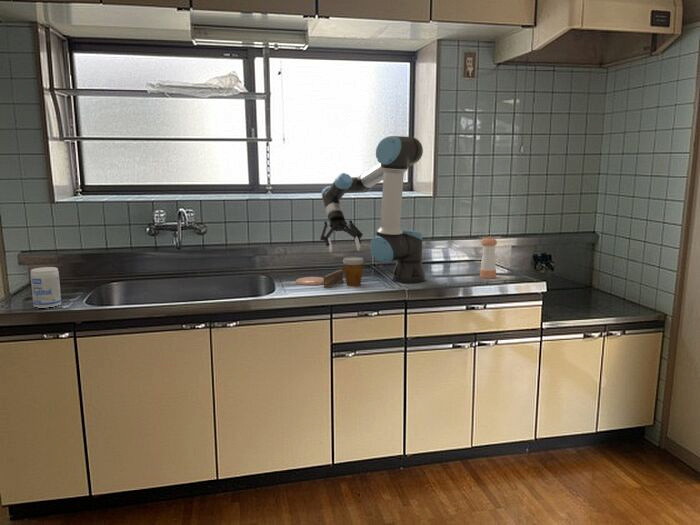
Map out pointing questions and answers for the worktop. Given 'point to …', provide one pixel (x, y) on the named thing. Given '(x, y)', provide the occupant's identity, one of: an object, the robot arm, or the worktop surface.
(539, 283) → the worktop surface
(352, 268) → the disposable coffee cup
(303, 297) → the worktop surface
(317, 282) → the terracotta coaster
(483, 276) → the pepper shaker
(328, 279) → the walnut wall
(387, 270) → the worktop surface
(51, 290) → the supplement tub
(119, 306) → the worktop surface
